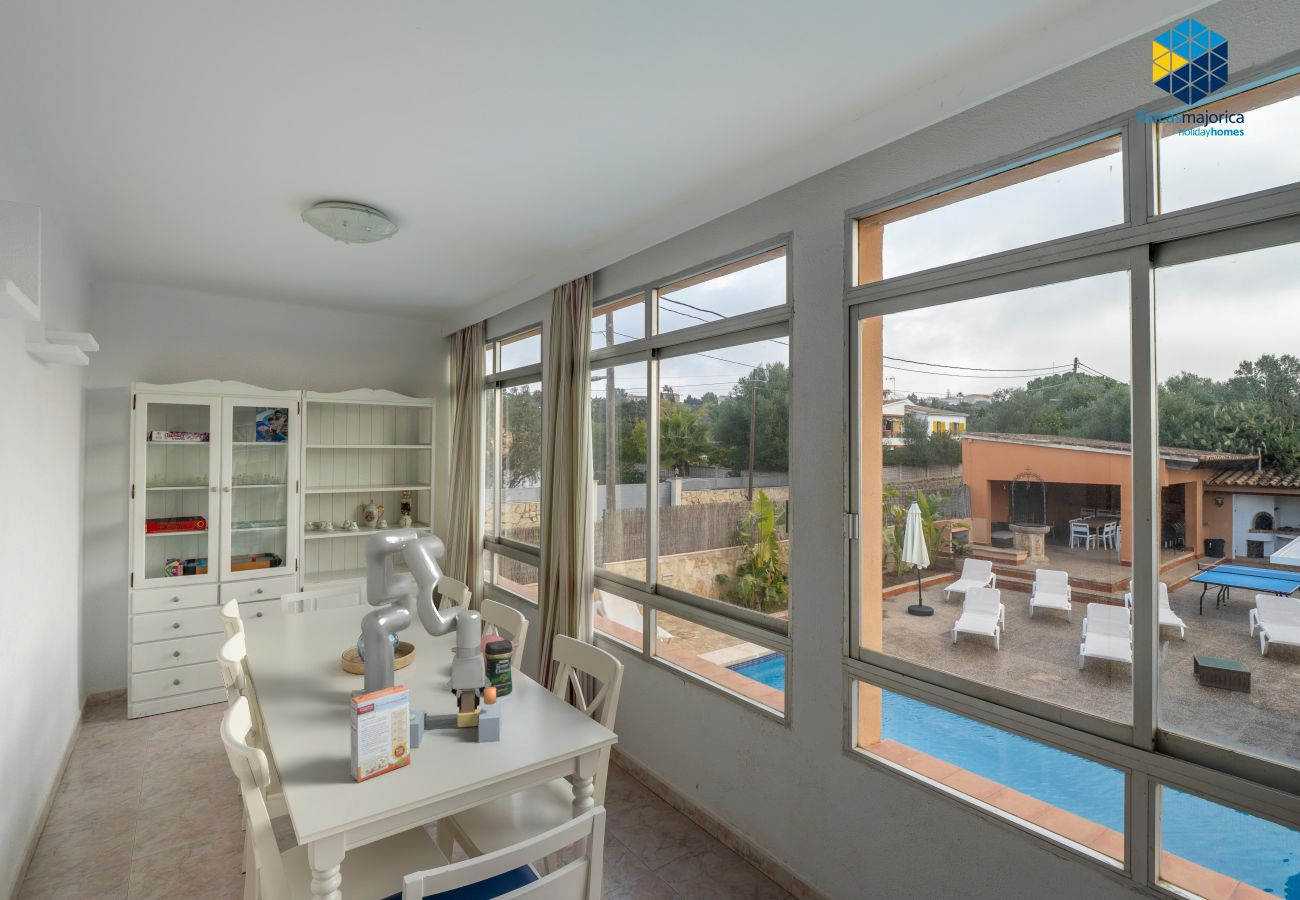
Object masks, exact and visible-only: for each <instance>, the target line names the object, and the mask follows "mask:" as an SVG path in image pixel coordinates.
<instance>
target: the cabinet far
mask: <svg viewBox="0 0 1300 900" xmlns="http://www.w3.org/2000/svg"><path fill="white" fill-rule="evenodd" d="M479 712H480V715H479V726H478V743H487V742H488V743H489V742H499V741H500V739H501V730H502V727H501V726H502V703H494V704H491V705H487V704H482V705H481V706H480V709H479Z"/></svg>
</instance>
